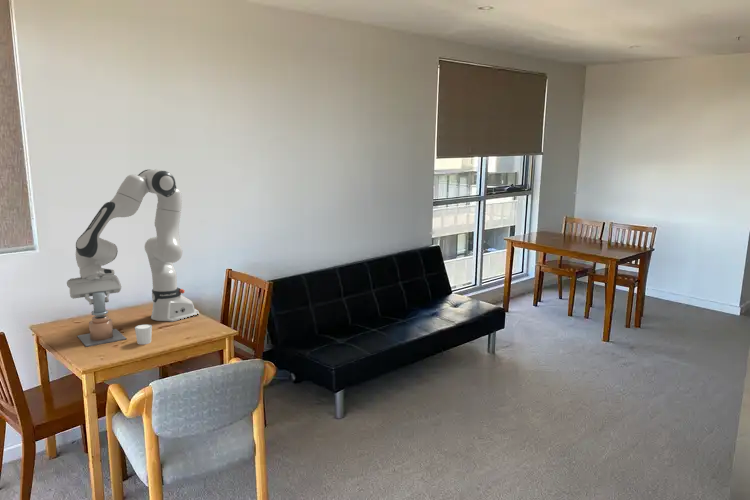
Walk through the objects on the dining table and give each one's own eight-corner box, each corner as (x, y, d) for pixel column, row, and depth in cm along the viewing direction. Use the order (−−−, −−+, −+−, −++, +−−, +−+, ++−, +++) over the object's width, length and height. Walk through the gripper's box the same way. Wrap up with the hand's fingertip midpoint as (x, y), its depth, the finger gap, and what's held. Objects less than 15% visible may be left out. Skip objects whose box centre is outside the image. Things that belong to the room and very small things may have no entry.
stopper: (105, 310, 250) (104, 290, 249) (109, 313, 245) (108, 293, 244) (89, 312, 246) (88, 292, 245) (93, 316, 241) (92, 295, 240)
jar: (116, 329, 259) (114, 309, 257) (126, 339, 247) (125, 318, 245) (77, 336, 249) (75, 315, 247) (86, 347, 237) (84, 324, 235)
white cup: (146, 345, 240) (145, 329, 239) (132, 344, 241) (131, 328, 240) (156, 340, 246) (155, 324, 245) (141, 338, 248) (140, 323, 247)
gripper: (66, 275, 242) (73, 302, 236) (117, 269, 254) (125, 295, 249) (65, 283, 246) (71, 310, 240) (115, 277, 258) (122, 302, 253)
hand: (99, 302), depth 244 cm, fingers closed on stopper, 5 cm apart
